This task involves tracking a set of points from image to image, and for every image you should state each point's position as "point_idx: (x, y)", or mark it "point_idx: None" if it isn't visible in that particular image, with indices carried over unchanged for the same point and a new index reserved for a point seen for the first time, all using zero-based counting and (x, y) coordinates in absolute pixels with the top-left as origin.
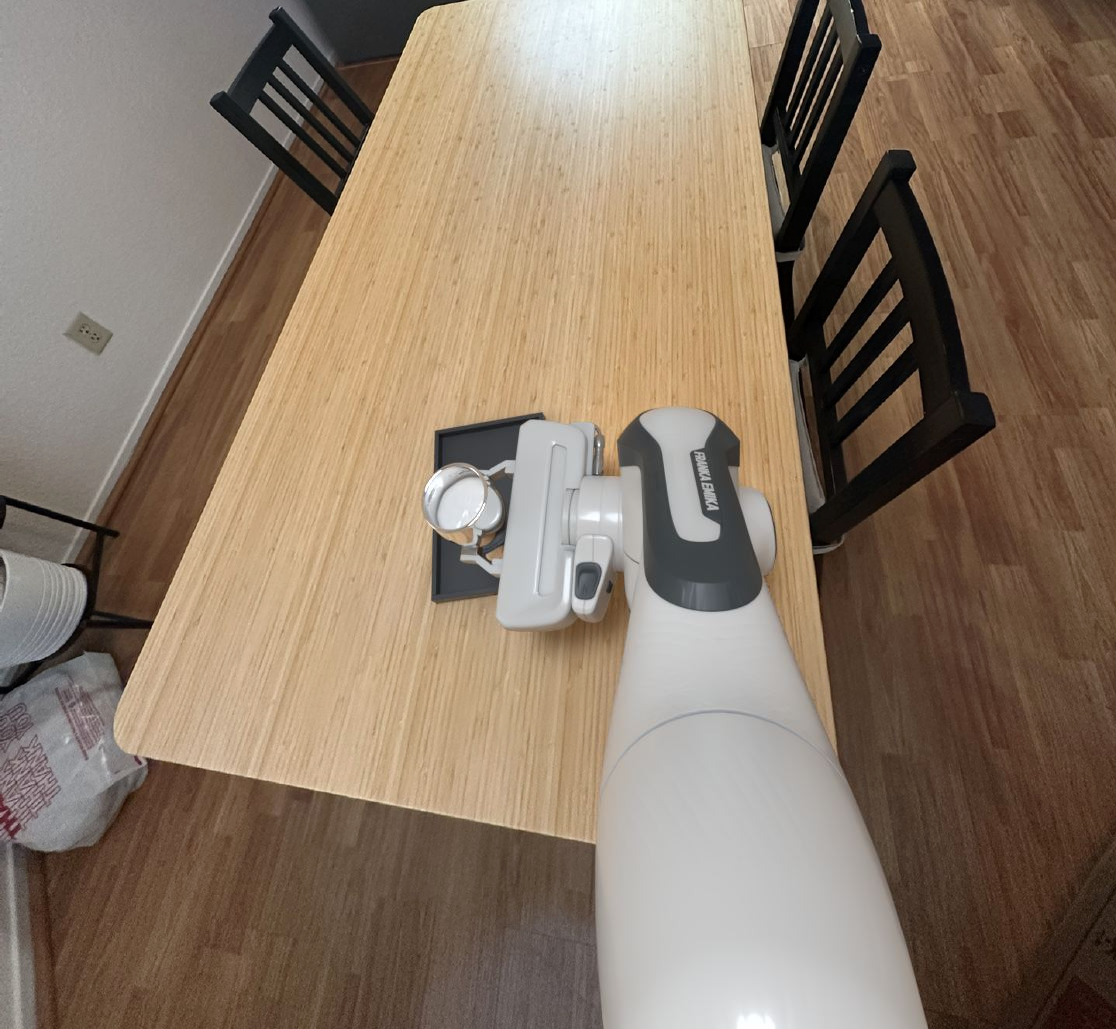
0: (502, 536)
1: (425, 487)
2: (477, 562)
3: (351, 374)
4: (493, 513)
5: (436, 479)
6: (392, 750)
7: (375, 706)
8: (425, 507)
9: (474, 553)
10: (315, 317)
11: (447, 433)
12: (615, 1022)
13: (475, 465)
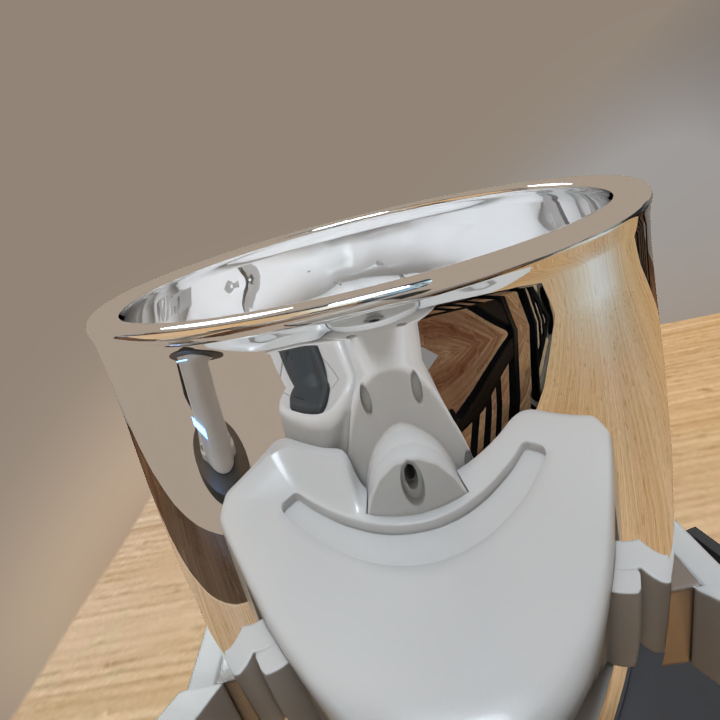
0: None
1: (388, 209)
2: (174, 704)
3: (669, 387)
4: (339, 598)
5: (457, 247)
6: (62, 716)
7: (148, 649)
8: (309, 261)
9: (226, 666)
10: (707, 325)
11: (716, 558)
12: None
13: (698, 677)
